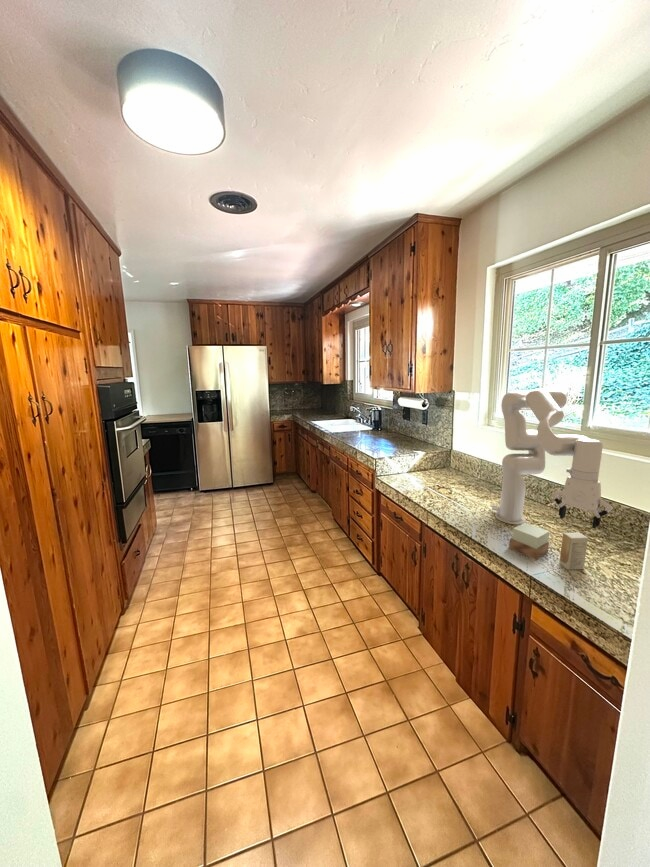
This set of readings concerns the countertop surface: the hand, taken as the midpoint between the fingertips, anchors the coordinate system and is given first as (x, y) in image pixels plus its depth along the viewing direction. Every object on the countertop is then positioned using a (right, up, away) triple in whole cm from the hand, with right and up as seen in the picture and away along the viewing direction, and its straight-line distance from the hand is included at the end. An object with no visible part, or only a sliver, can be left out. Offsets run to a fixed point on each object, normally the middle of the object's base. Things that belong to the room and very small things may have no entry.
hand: (578, 522), depth 120 cm
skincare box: (0, -17, +4) cm, 17 cm away
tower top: (-9, -11, +14) cm, 19 cm away
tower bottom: (-9, -15, +14) cm, 23 cm away
